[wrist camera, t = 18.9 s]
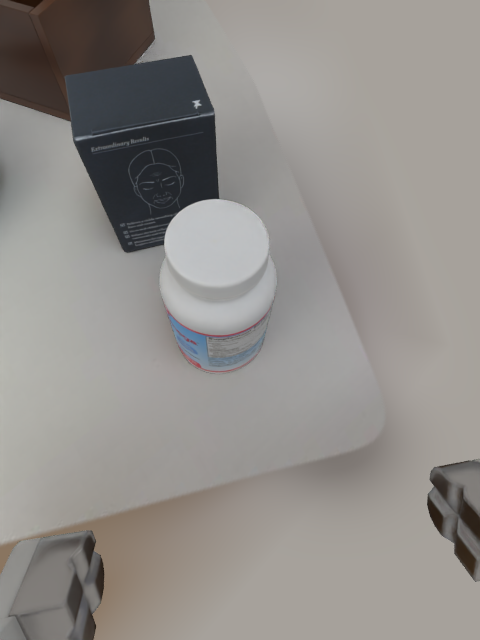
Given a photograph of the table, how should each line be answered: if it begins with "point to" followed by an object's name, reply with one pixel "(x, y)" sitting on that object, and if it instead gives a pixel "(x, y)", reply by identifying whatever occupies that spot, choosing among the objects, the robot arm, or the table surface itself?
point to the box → (145, 143)
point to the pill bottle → (218, 284)
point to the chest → (66, 45)
